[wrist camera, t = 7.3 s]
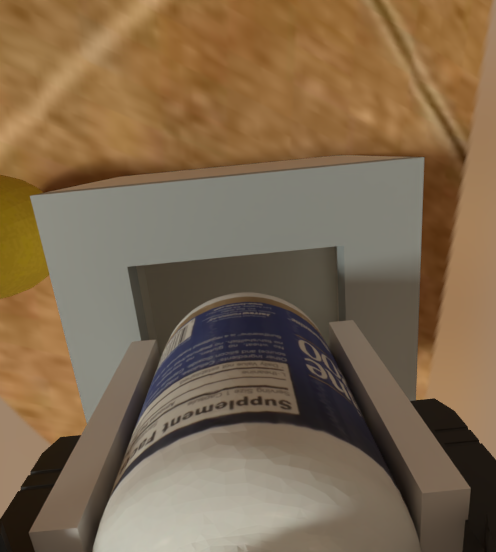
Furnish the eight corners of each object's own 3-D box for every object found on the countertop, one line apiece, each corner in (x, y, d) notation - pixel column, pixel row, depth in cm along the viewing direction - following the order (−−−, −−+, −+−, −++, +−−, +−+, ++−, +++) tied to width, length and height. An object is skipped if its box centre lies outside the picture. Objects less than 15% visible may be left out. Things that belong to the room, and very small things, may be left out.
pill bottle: (343, 411, 14) (574, 957, 4) (194, 451, 14) (113, 1042, 5) (306, 265, 12) (542, 634, 3) (138, 313, 12) (-145, 790, 3)
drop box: (120, 176, 22) (29, 195, 12) (341, 155, 22) (424, 157, 12) (155, 372, 25) (107, 505, 16) (345, 353, 25) (413, 475, 16)
